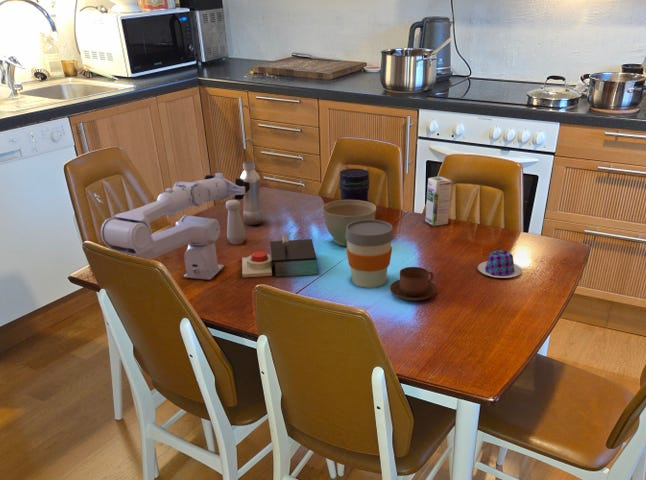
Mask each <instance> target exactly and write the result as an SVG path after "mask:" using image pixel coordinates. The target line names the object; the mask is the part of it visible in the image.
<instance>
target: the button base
mask: <svg viewBox="0 0 646 480" xmlns="http://www.w3.org/2000/svg"><path fill="white" fill-rule="evenodd" d="M267 258H268V260H267V261H264V262H253V261H252V256H251V254H250V255H248V256H246V257H241V260H242V261H241V265H242V266H241V268H242V269H241V271H242V272H241V273H242V274H241V275H242V278H256V277H269V276H271V277H272V276H273V273H272V272H273V271H272V266H274V262H272V259H271V254H268V253H267Z"/></svg>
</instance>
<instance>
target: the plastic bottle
mask: <svg viewBox="0 0 646 480" xmlns="http://www.w3.org/2000/svg"><path fill="white" fill-rule="evenodd" d="M242 169H243V171H242V173H241V175H240V177H239V179H242V180H243V181H244V182H249V183H250V190H249V191H248V192H246V193H245V195H244V197H243V212H242V213H243V214H242V215H243V216H242V218H243V221H244V222H245V224H247V225H248V226H249V225H250V226H252V225H253V226H256V225H259V224H261V223H262V222H263V220H264V213H263V209H262V204H261V195H260V194H261V193H260V191H261V189H260V187H261V177H260V175H259V173H258V172H257V171H256V170H255V169H256V166H255V161H253V160H246V161H243V162H242Z"/></svg>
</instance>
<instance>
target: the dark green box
mask: <svg viewBox="0 0 646 480" xmlns="http://www.w3.org/2000/svg"><path fill="white" fill-rule="evenodd" d="M273 265H274V272H275V273H274V274H275V278H282V277H283V278H284V277H297V276H313V275H318V259H317V260H303V261H287V262H273Z"/></svg>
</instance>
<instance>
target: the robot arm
mask: <svg viewBox="0 0 646 480" xmlns="http://www.w3.org/2000/svg"><path fill="white" fill-rule="evenodd" d="M249 190H250V183H249V182H244V181H243V180H242V179H240V178H235V183H234V182H232V181H230V180H229V179H227V178H225V177H224V174H223V173H221V172H216V173H215V176H214V175H210V174H206V175H205V176H204V179H200V180H196V181H191V182H189V181H176V182H175V183H174V184H173V187H172V188H170V187H167V188H165V189H164V192H162V193H160V194H159V195H157V198H156V199H157V200H156V201H153V202H150V203H147V204H145V205H142V206H140V207H136V208H134V209H131V210H128V211H124V212H120V213H116V214H115V215H114V216H113V217H109V218H106V219H105V220H104V221H103V222H102V225H101V227H100V238H101V240H102V242H103V243H104V245H106V247H107V248H108V249H110V250H112V251H114V252H118V253H120V254H123V255H125V254H127V255H131V256H136V257H140V258H144V259H149V261H151V260H154V259H155V258H158V257H160V256H162V255H165V254H167V253H170V252H172V251H175V250H177V249H180V248H182V247H185V246H187V249H186V250H185V252H184V254H183V261H184V266H185V267H184V268H185V273H184V274H183V277H184V278H187V279H188V278H189V279H197V280H208V281H209V280H212V279H213V278H214V277H215V276H216V275H217V274H218V273H219V272H221V270H223V268H224V267H225V265H224V264H219V263H218V255H217V247H216V242H217V240H218V239H219V237H220V234H221V225H220V223H219V221H218V220H217V219H216V218H210V217H201V216H195V215H190V214H184V215H182V217H181V218H180V219H179V220H178V221H175V226H172V227H169V228H167V229H164V230H161V231H159V232H155V233H153V231H152V226H151V223H152V222H154V221H156V220H157V219H159V218H161V217H162V216H164V215H165V216H169V217H170V216H174V215H176V214H178V213H180V212H182V211H184V210H186V209H188V208H190V207H198V208H199V207H202V206H203V205H204V203H207V202H213V201H217V200H225V199H228V198H231V197H234V200H238V201H241V200H244V198H243V197H244V195H245V193H246V192H248V191H249ZM127 255H126V256H127Z"/></svg>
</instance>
